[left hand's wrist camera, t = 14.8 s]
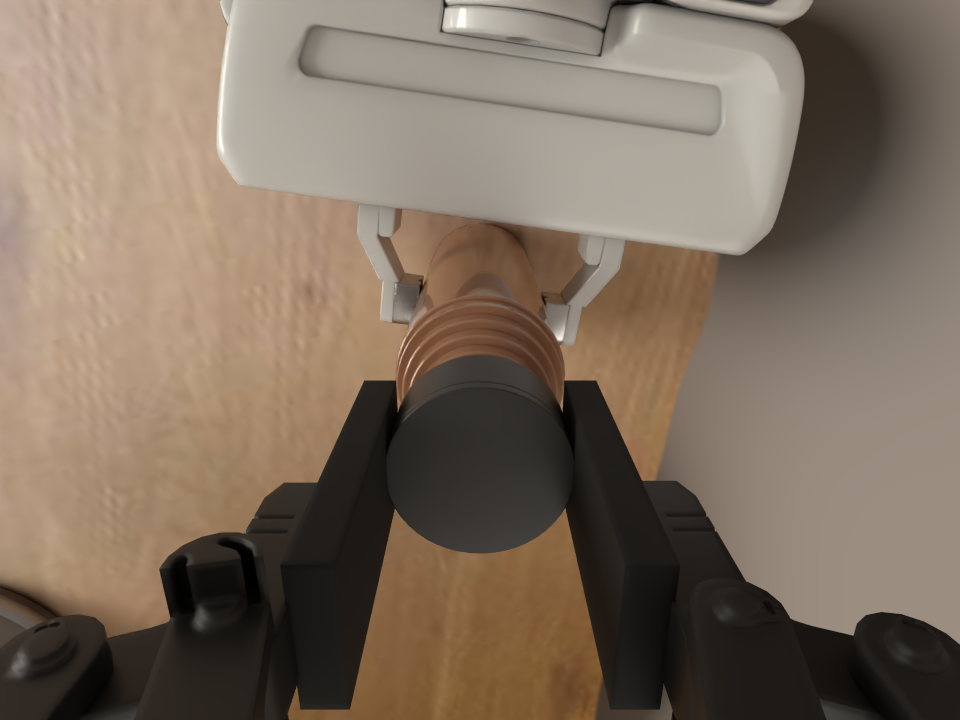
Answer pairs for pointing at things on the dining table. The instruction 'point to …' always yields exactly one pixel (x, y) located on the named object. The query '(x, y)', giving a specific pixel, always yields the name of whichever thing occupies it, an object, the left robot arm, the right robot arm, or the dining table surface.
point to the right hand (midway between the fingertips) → (478, 330)
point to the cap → (480, 456)
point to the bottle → (480, 310)
